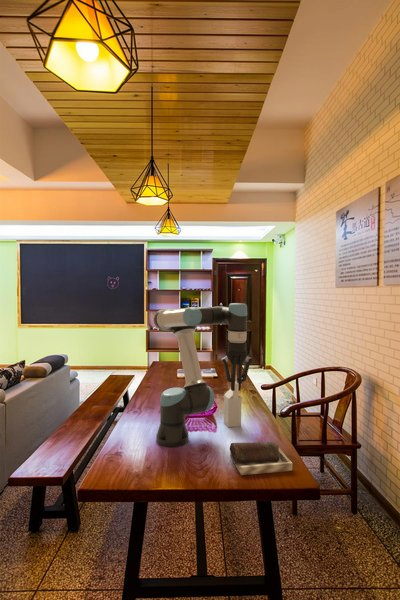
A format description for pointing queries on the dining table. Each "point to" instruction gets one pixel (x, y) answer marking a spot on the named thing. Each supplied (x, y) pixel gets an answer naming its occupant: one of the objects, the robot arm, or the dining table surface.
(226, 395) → the milk carton
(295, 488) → the dining table surface
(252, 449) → the candle
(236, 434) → the dining table surface
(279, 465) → the tray
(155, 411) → the dining table surface
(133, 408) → the dining table surface
